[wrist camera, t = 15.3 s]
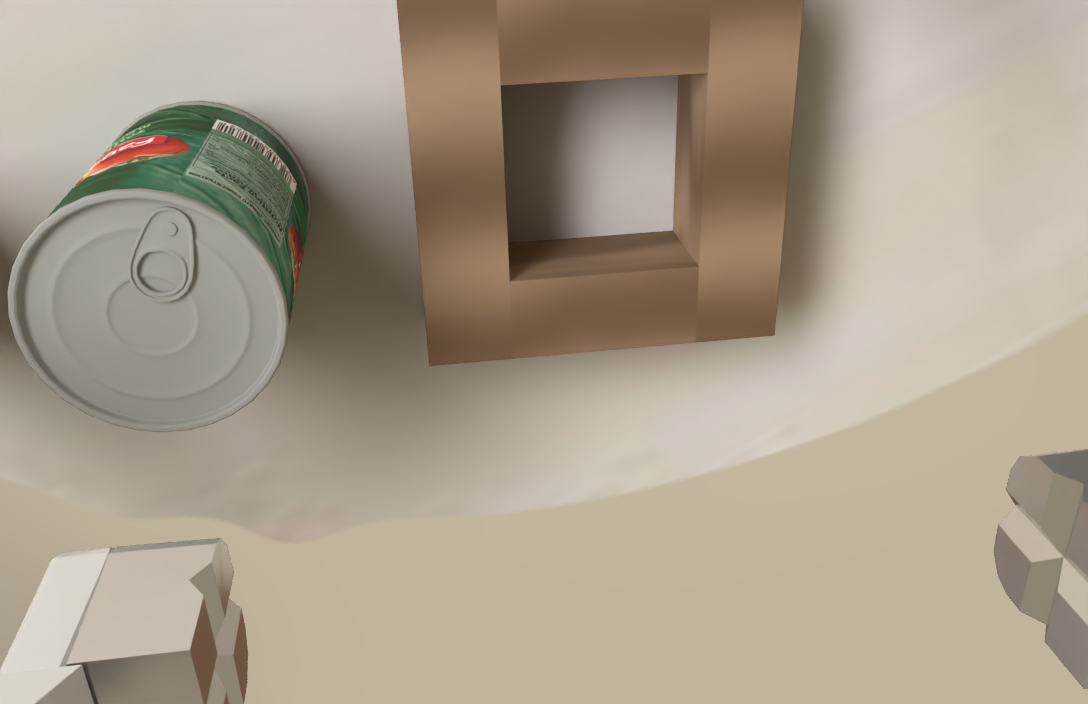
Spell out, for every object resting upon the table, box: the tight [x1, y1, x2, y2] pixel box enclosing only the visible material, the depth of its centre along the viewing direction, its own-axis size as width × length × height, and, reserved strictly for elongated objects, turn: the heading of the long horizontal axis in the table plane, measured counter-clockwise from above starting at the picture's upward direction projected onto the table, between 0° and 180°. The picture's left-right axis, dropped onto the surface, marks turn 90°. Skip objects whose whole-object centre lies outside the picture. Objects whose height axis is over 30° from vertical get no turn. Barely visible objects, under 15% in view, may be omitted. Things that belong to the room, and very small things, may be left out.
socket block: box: [397, 0, 804, 366], centre depth 39 cm, size 14×14×4 cm
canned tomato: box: [8, 101, 311, 432], centre depth 35 cm, size 8×8×11 cm
